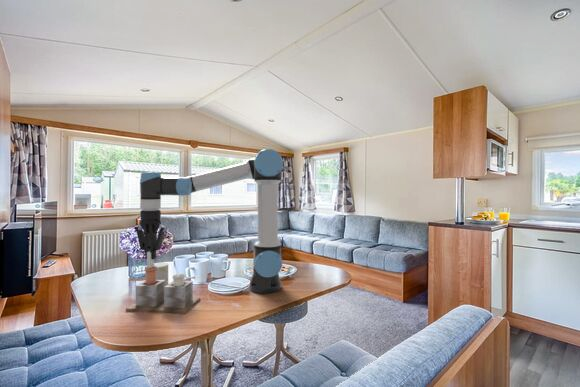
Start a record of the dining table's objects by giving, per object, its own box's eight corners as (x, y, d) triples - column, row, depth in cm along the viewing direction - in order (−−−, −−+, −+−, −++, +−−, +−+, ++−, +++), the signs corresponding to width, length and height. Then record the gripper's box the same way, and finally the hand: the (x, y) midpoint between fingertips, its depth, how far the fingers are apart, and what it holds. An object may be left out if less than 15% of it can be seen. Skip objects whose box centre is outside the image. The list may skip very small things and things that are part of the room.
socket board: (200, 299, 123) (200, 279, 123) (184, 314, 109) (184, 290, 109) (147, 297, 126) (147, 277, 126) (126, 311, 112) (125, 288, 112)
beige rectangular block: (161, 294, 130) (161, 267, 130) (145, 292, 132) (145, 266, 131) (172, 288, 138) (171, 263, 138) (157, 286, 140) (156, 262, 139)
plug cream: (186, 297, 119) (186, 273, 119) (181, 302, 114) (181, 277, 114) (176, 297, 119) (176, 273, 119) (170, 301, 115) (170, 276, 115)
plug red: (159, 290, 120) (159, 266, 120) (153, 294, 116) (152, 269, 115) (149, 289, 121) (148, 265, 120) (142, 293, 116) (142, 269, 116)
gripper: (170, 209, 121) (170, 265, 121) (141, 208, 122) (141, 264, 122) (160, 210, 113) (160, 270, 114) (129, 210, 114) (129, 268, 115)
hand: (150, 267), depth 118 cm, fingers closed
